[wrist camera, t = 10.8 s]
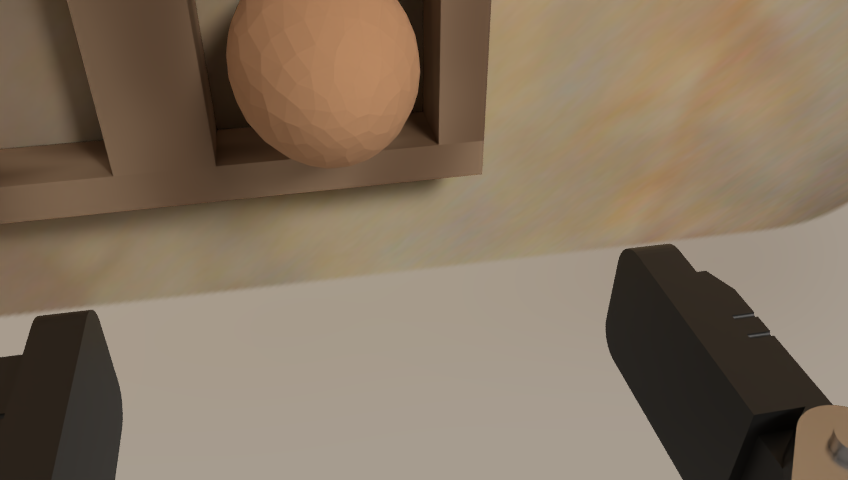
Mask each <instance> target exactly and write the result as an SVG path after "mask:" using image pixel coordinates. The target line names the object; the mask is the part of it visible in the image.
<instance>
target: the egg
mask: <svg viewBox="0 0 848 480" xmlns="http://www.w3.org/2000/svg"><path fill="white" fill-rule="evenodd" d="M226 58H227V67H228V76H229V81H230V84H231V87H232V90H233V93H234V96H235V99H236V102H237V104H238V105H239V107H240V109H241V111H242V113H243V115H244V117H245V119H246V121H247V122H248V123H249V124H250V126H251V127H252V128H253V129H254V130H255V131H256V132H257V133H258V134H259V136H260V137H261V138H262V139H263V140H264V141H265V142H266V143H268V144H269V145H271V146H272V147H273V148H275V149H276V150H278V151H279V152H281V153H282V154H284V155H285V156H287V157H288V158H290V159H292V160H295V161H298V162H300V163H303V164H306V165H308V166H314V167H320V168H326V169H329V168H339V167H348V166H352V165H355V164H358V163H361V162H363V161H366V160H368V159H370V158H372V157H373V156H375V155H377V154H378V153H379V152H381V151H382V150H383V149H384V148H386V147H387V146H388V145H389V144H390V143H391V142H392V141H393V140H394V139H395V138H396V137H397V135H398V134H399V133H400V131H401V129H402V127H403V126H404V124H405V122H406V120H407V118H408V117H409V115H410V113H411V111H412V109H413V106H414V103H415V100H416V97H417V94H418V86H419V78H420V64H419V53H418V47H417V42H416V37H415V33H414V31H413V29H412V26H411V24H410V21H409V19H408V17H407V14H406V13H405V11H404V10H403V8H402V6H401V5H400V3H399V2H398V0H240V1H239V4H238V6H237V9H236V11H235V13H234V16H233V18H232V21H231V23H230V28H229V33H228V39H227V50H226Z"/></svg>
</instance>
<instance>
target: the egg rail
mask: <svg viewBox="0 0 848 480" xmlns="http://www.w3.org/2000/svg"><path fill="white" fill-rule="evenodd" d="M67 3H68V7H69V11H70V15H71V18H72V22H73V26H74V30H75V34H76V37H77V41H78V45H79V49H80V52H81V56H82V60H83V64H84V67H85V71H86V75H87V79H88V83H89V86H90V90H91V94H92V98H93V101H94V105H95V109H96V113H97V117H98V120H99V124H100V128H101V132H102V135H103V139H104V140H99V141H88V142H76V143H65V144H54V145H42V146H31V147H20V148H8V149H0V224H6V223H16V222H25V221H35V220H44V219H54V218H64V217H73V216H83V215H93V214H102V213H112V212H122V211H131V210H141V209H151V208H160V207H170V206H179V205H189V204H199V203H208V202H218V201H228V200H237V199H247V198H257V197H266V196H276V195H286V194H295V193H305V192H314V191H324V190H334V189H343V188H353V187H363V186H372V185H382V184H392V183H401V182H411V181H421V180H430V179H440V178H449V177H459V176H469V175H478V174H482V166H483V147H484V128H485V109H486V90H487V71H488V52H489V33H490V14H491V0H423V112H416V113H410V115H409V117H408V118H407V120H406V122H405V124H404V126H403V127H402V129H401V131H400V133H399V134H398V135H397V137H396V138H395V139H394V140H393V141H392V142H391V143H390V144H389V145H388V146H387V147H386V148H384V149H383V150H382V151H381V152H379V153H378V154H377V155H375V156H373V157H372V158H370V159H368V160H366V161H363V162H361V163H358V164H355V165H352V166H348V167H339V168H329V169H326V168H320V167H314V166H308V165H306V164H303V163H300V162H298V161H295V160H292V159H290V158H288V157H287V156H285V155H284V154H282V153H281V152H279V151H278V150H276V149H275V148H273V147H272V146H271V145H269V144H268V143H266V142H265V141H264V140H263V139H262V138H261V137H260V136H259V134H258V133H257V132H256V131H255V130H254V129H253V128H252V127H246V128H235V129H223V130H217V127H216V121H215V116H214V110H213V104H212V98H211V92H210V86H209V80H208V74H207V68H206V62H205V56H204V50H203V45H202V39H201V33H200V27H199V21H198V15H197V9H196V3H195V0H67Z"/></svg>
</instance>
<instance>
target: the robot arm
mask: <svg viewBox="0 0 848 480" xmlns="http://www.w3.org/2000/svg"><path fill="white" fill-rule="evenodd" d="M606 338H607V343H608V347H609V351H610V353H611V356H612V358H613V360H614V362H615V363H616V365H617V367H618V369H619V370H620V372H621V374H622V375H623V377H624V379H625V381H626V382H627V384H628V386H629V388H630V389H631V391H632V393H633V394H634V396H635V398H636V400H637V401H638V403H639V405H640V406H641V408H642V410H643V412H644V413H645V415H646V416H647V419H648V420H649V422H650V424H651V425H652V427H653V429H654V431H655V432H656V434H657V436H658V438H659V439H660V441H661V443H662V445H663V446H664V448H665V450H666V451H667V453H668V455H669V456H670V458H671V460H672V462H673V463H674V465H675V467H676V469H677V470H678V472H679V474H680V476H681V477H682V479H683V480H848V407H845V406H837V405H832V403H831V402H830V401H829V400H828V399H827V398H826V396H825V395H824V394H823V393H822V392H821V390H820V389H819V388H818V387H817V386H816V385H815V383H814V382H813V381H812V380H811V379H810V378H809V376H808V375H807V374H806V373H805V372H804V371H803V369H802V368H801V367H800V366H799V365H798V363H797V362H796V361H795V360H794V359H793V358H792V356H791V355H790V354H789V353H788V352H787V350H786V349H785V348H784V347H783V346H782V345H781V343H780V342H779V341H778V340H777V339H776V338H775V336H771V335H770V330H769V329H768V328H767V327H766V326H765V325H764V323H763V322H762V321H761V320H760V319H759V318H758V317H755V316H754V312H753V310H752V309H751V308H750V307H749V306H748V305H747V304H746V302H745V301H744V300H743V299H742V297H741V296H740V295H739V294H738V293H737V292H736V290H735V289H733V288H732V287H730V286H728V285H727V284H725V283H724V282H722V281H721V280H719V279H718V278H716V277H715V276H713V275H712V274H710V273H708V272H707V271H701V272H696V271H695V269H694V268H693V267H692V266H691V264H690V263H689V262H688V261H687V260H686V258H685V257H684V256H683V255H682V253H681V252H680V251H679V250H678V249H677V248H676V247H675V246H674V245H672V244H663V245H654V246H646V247H637V248H629V249H625V250H624V251H623V252H622V253H621V255H620V257H619V260H618V265H617V270H616V275H615V279H614V284H613V289H612V294H611V299H610V304H609V309H608V313H607V319H606ZM122 415H123V412H122V399H121V392H120V387H119V383H118V380H117V377H116V373H115V370H114V367H113V363H112V360H111V357H110V354H109V350H108V347H107V344H106V341H105V337H104V334H103V331H102V327H101V324H100V321H99V318H98V316H97V314H96V312H95V311H94V310H86V311H77V312H69V313H60V314H52V315H43V316H37V317H36V318H35V319H34V321H33V323H32V326H31V329H30V333H29V336H28V339H27V342H26V346H25V349H24V352H23V355H16V356H8V357H0V480H115V474H116V468H117V461H118V453H119V446H120V439H121V431H122V420H123V417H122Z"/></svg>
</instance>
